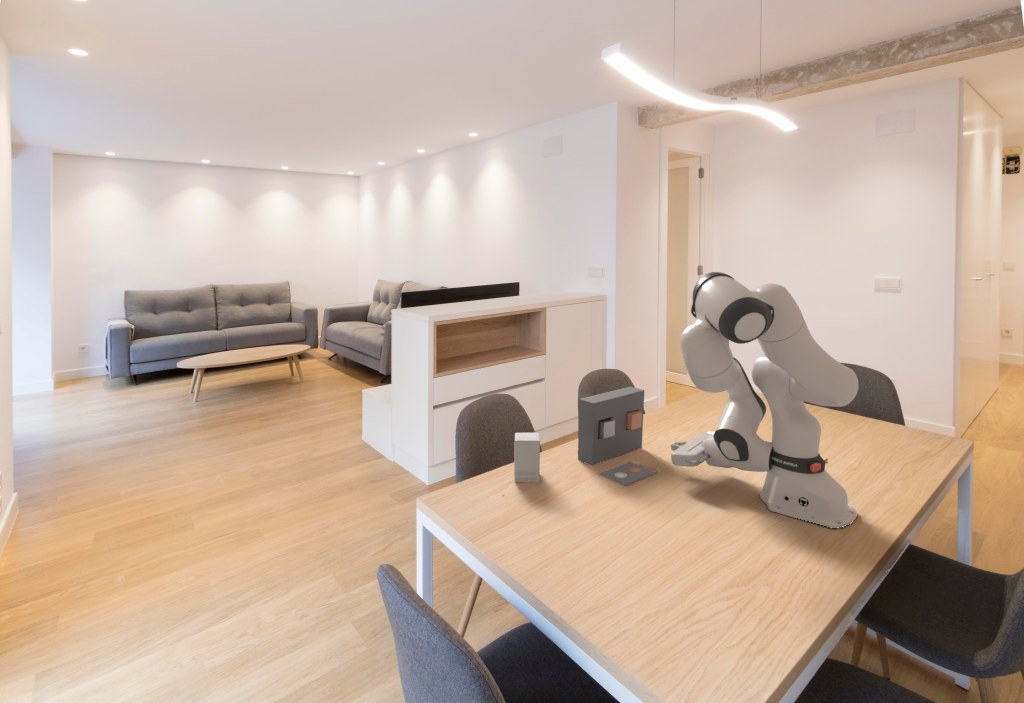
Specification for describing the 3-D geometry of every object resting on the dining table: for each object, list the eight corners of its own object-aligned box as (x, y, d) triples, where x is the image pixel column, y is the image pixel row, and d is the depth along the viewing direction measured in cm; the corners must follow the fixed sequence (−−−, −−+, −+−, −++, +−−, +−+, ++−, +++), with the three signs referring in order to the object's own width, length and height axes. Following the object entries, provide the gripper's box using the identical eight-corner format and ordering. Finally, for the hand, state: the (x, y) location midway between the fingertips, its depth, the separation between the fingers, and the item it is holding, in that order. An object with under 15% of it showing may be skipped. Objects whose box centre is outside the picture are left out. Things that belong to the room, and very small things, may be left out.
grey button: (614, 435, 171) (615, 420, 170) (603, 439, 168) (604, 423, 167) (607, 432, 173) (607, 417, 172) (596, 436, 170) (596, 420, 169)
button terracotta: (641, 426, 179) (642, 412, 178) (631, 430, 176) (631, 415, 175) (634, 424, 181) (634, 410, 180) (624, 427, 178) (624, 412, 177)
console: (641, 447, 184) (644, 390, 180) (591, 465, 169) (593, 403, 165) (627, 442, 188) (630, 386, 185) (577, 459, 174) (579, 398, 170)
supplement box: (539, 482, 158) (540, 440, 155) (514, 482, 158) (514, 440, 155) (539, 472, 165) (539, 432, 162) (514, 471, 165) (514, 431, 162)
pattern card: (656, 473, 164) (656, 471, 164) (625, 486, 155) (625, 484, 155) (630, 462, 171) (630, 461, 171) (599, 474, 163) (599, 472, 163)
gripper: (700, 474, 150) (656, 468, 160) (733, 449, 163) (691, 444, 173) (697, 452, 149) (653, 447, 159) (731, 429, 162) (688, 425, 173)
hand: (673, 446), depth 166 cm, fingers closed
